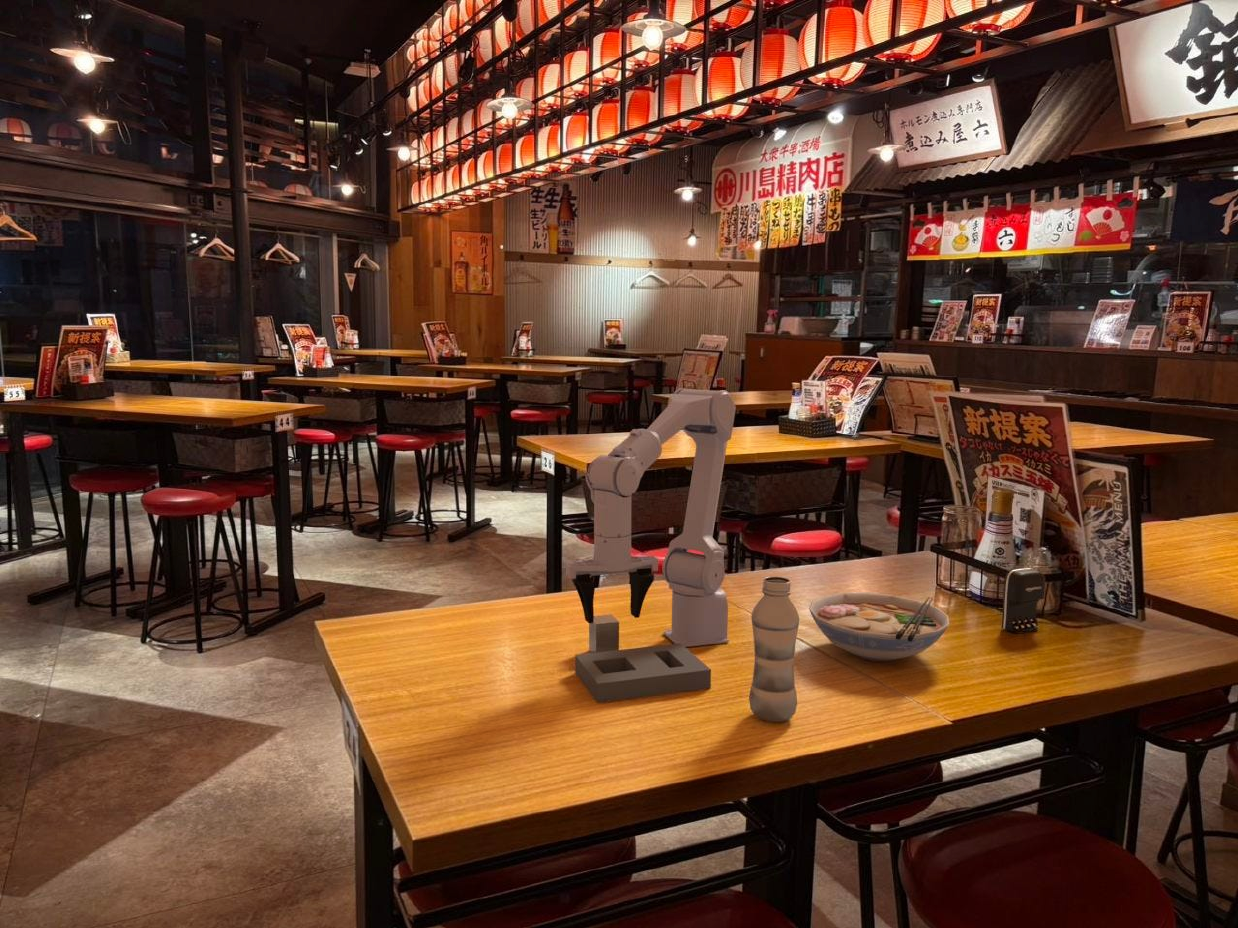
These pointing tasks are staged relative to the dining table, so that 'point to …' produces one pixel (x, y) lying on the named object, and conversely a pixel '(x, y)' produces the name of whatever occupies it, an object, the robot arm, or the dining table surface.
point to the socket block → (641, 672)
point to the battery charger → (1022, 599)
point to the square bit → (604, 634)
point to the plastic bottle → (774, 652)
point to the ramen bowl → (879, 624)
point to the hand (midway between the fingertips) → (612, 618)
